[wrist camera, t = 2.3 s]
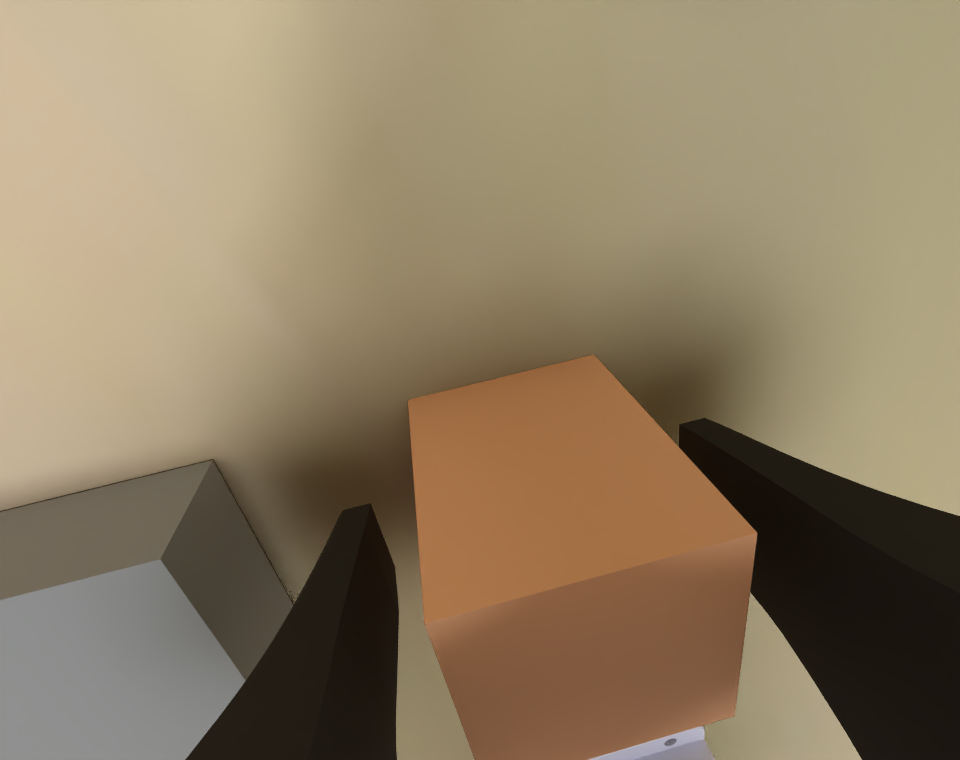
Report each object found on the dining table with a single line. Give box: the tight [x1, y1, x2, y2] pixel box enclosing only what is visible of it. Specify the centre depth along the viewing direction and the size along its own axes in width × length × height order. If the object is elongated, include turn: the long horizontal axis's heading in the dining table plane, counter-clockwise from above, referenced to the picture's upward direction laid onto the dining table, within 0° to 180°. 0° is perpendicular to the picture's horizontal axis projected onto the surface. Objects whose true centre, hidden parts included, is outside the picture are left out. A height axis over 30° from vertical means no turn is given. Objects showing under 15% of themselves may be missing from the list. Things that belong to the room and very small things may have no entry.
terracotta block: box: [408, 355, 757, 760], centre depth 10 cm, size 5×5×6 cm
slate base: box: [0, 460, 293, 760], centre depth 12 cm, size 10×10×3 cm
